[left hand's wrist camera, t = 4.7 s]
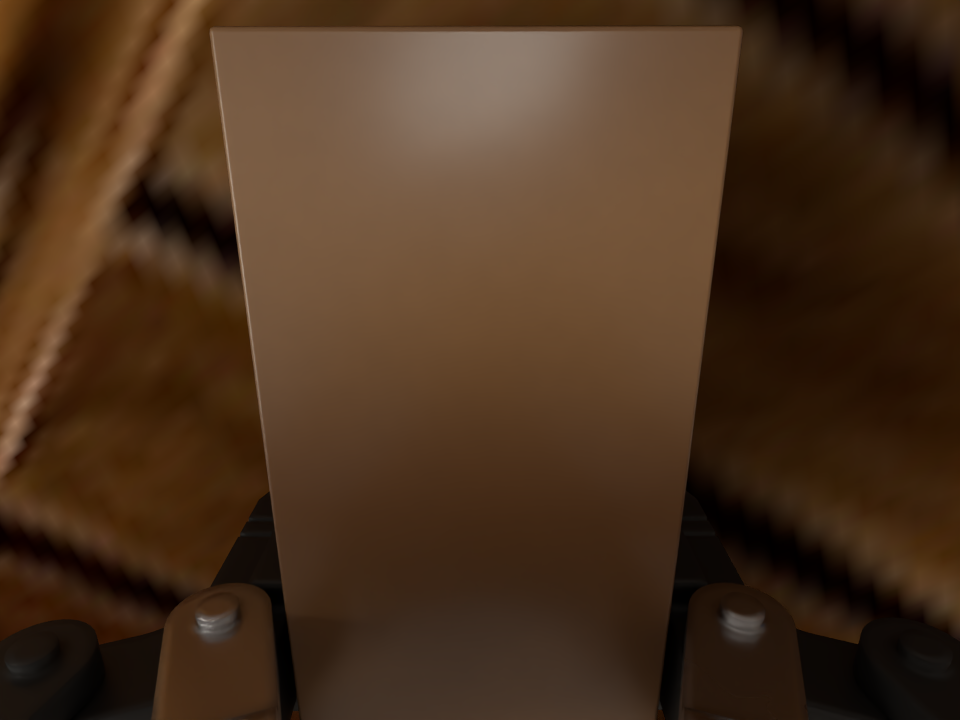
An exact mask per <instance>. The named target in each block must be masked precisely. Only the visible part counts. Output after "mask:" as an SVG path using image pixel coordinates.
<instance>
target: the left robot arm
mask: <svg viewBox="0 0 960 720" xmlns="http://www.w3.org/2000/svg"><path fill="white" fill-rule="evenodd" d="M658 710H663V713H664V716H665V720H960V642H959V641H958V640H957V639H955V638H953V637H952V636H950V635H948V634H947V633H945V632H943V631H941V630H939V629H937V628H934V627H932V626H929V625H927V624H924V623H921V622H917V621H914V620H909V619H904V618H880V619H876V620H873V621H871V622H870V623H868V624H867V625H866V626H865V627H864V628H863V630H862V633H861V636H860V640H859V644H854V643H850V642H846V641H841V640H837V639H833V638H828V637H824V636H820V635H815V634H811V633H808V632H804V631H801V630H798V629H796V627H795V623H794V621H793V619H792V617H791V615H790V614H789V613H788V611H787V610H786V609H785V608H784V607H783V606H782V605H781V604H780V603H779V602H777V601H776V600H775V599H773V598H772V597H770V596H769V595H767V594H765V593H763V592H761V591H759V590H757V589H754V588H751V587H748V586H745V585H744V583H743V582H742V580H741V578H740V576H739V574H738V572H737V571H736V569H735V567H734V565H733V563H732V562H731V560H730V558H729V556H728V554H727V553H726V551H725V549H724V547H723V545H722V544H721V542H720V540H719V538H718V536H715V531H714V529H713V527H712V525H711V524H710V522H709V521H707V516H706V515H705V513H704V511H703V509H702V507H701V505H700V504H699V502H698V500H697V499H696V498H695V497H694V496H692V495H691V494H690V493H689V492H687V491H685V499H684V507H683V515H682V523H681V531H680V539H679V547H678V555H677V563H676V571H675V579H674V587H673V595H672V603H671V611H670V619H669V627H668V635H667V643H666V651H665V659H664V667H663V674H662V682H661V690H660V698H659V706H658ZM293 711H299V710H298V702H297V694H296V687H295V679H294V672H293V664H292V656H291V649H290V641H289V634H288V626H287V618H286V611H285V603H284V596H283V588H282V580H281V573H280V565H279V557H278V550H277V542H276V535H275V527H274V519H273V512H272V504H271V497H270V492H268V493H267V494H266V495H265V496H263V497H262V498H261V499H259V501H258V503H257V505H256V506H255V508H254V510H253V512H252V513H251V515H250V517H249V522H246V524H245V526H244V528H243V530H242V531H241V535H240V537H238V538H237V540H236V542H235V544H234V546H233V547H232V549H231V551H230V553H229V554H228V556H227V558H226V560H225V562H224V563H223V565H222V567H221V569H220V571H219V572H218V574H217V576H216V578H215V579H214V581H213V583H212V585H211V587H209V588H206V589H203V590H201V591H199V592H197V593H195V594H193V595H191V596H190V597H188V598H187V599H185V600H184V601H183V602H181V603H180V604H179V605H178V606H177V607H176V608H175V609H174V610H173V611H172V612H171V614H170V615H169V617H168V619H167V621H166V623H165V627H164V628H162V629H159V630H157V631H154V632H151V633H148V634H144V635H140V636H136V637H131V638H127V639H123V640H119V641H114V642H110V643H106V644H101V645H99V643H98V639H97V635H96V633H95V630H94V629H93V628H92V627H91V626H90V625H88V624H87V623H84V622H81V621H78V620H54V621H49V622H44V623H40V624H37V625H34V626H31V627H28V628H26V629H23V630H21V631H19V632H17V633H15V634H13V635H11V636H9V637H8V638H6V639H4V640H3V641H1V642H0V720H290V719H291V715H292V712H293Z"/></svg>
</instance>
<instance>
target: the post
mask: <svg viewBox="0 0 960 720" xmlns="http://www.w3.org/2000/svg"><path fill="white" fill-rule="evenodd" d="M742 37H743V29H742V27H740V26H738V25H728V26H214V27H212V28H211V29H210V40H211V48H212V55H213V63H214V71H215V78H216V86H217V93H218V101H219V109H220V116H221V124H222V131H223V139H224V147H225V154H226V162H227V169H228V177H229V185H230V192H231V200H232V207H233V215H234V223H235V230H236V238H237V246H238V253H239V261H240V268H241V276H242V284H243V291H244V299H245V306H246V314H247V322H248V329H249V337H250V344H251V352H252V360H253V367H254V375H255V382H256V390H257V398H258V405H259V413H260V421H261V428H262V436H263V443H264V451H265V459H266V466H267V474H268V481H269V489H270V497H271V504H272V512H273V519H274V527H275V535H276V542H277V550H278V557H279V565H280V573H281V580H282V588H283V596H284V603H285V611H286V618H287V626H288V634H289V641H290V649H291V656H292V664H293V672H294V679H295V687H296V694H297V702H298V710H299V717H300V720H657V714H658V706H659V698H660V690H661V682H662V674H663V667H664V659H665V651H666V643H667V635H668V627H669V619H670V611H671V603H672V595H673V587H674V579H675V571H676V563H677V555H678V547H679V539H680V531H681V523H682V515H683V507H684V499H685V491H686V483H687V475H688V467H689V459H690V451H691V443H692V435H693V427H694V419H695V411H696V403H697V395H698V387H699V380H700V372H701V364H702V356H703V348H704V340H705V332H706V324H707V316H708V308H709V300H710V292H711V284H712V276H713V268H714V260H715V252H716V244H717V236H718V228H719V220H720V212H721V204H722V196H723V188H724V180H725V172H726V164H727V156H728V148H729V140H730V132H731V124H732V116H733V108H734V100H735V93H736V85H737V77H738V69H739V61H740V53H741V45H742Z"/></svg>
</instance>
